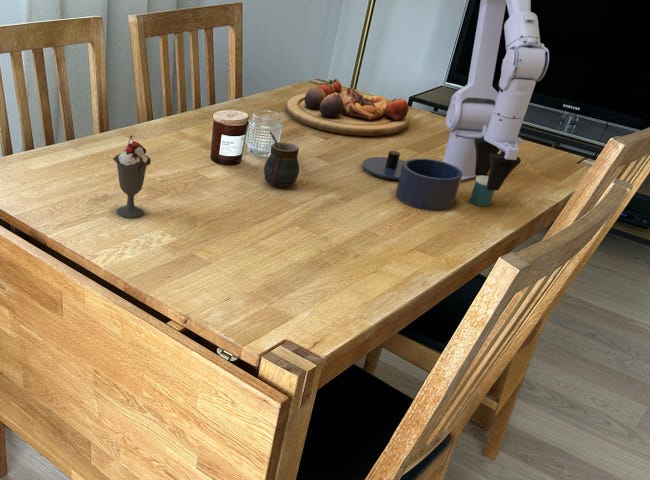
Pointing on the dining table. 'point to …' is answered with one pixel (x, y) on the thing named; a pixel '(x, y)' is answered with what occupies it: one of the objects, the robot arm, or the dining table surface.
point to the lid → (385, 165)
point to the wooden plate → (348, 111)
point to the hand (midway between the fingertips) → (486, 182)
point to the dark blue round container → (428, 184)
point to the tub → (481, 192)
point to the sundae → (131, 176)
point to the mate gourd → (282, 164)
